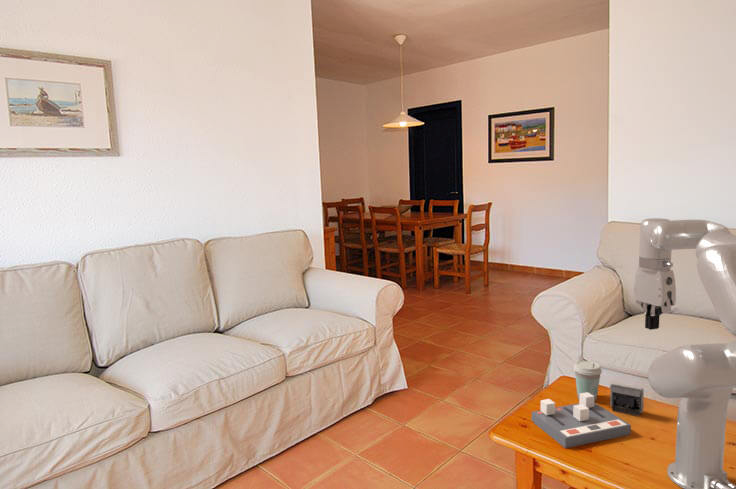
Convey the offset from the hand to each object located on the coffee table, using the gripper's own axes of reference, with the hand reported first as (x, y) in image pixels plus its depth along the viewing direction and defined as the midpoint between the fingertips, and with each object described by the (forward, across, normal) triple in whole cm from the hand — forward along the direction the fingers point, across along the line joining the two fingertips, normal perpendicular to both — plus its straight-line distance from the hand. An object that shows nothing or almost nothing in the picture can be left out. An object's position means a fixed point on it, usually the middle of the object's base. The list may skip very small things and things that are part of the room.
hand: (651, 328), depth 133 cm
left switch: (+29, +16, +22) cm, 39 cm away
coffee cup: (+32, +25, 0) cm, 41 cm away
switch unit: (+32, +10, +15) cm, 37 cm away
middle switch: (+29, +9, +15) cm, 34 cm away
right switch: (+29, +16, +8) cm, 34 cm away
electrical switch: (+32, +13, -5) cm, 35 cm away
